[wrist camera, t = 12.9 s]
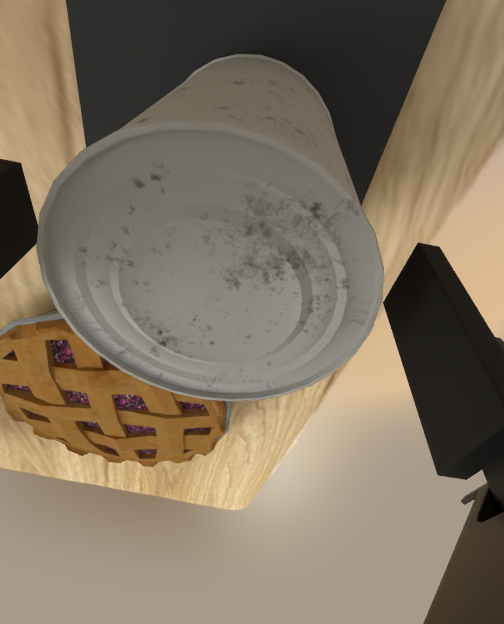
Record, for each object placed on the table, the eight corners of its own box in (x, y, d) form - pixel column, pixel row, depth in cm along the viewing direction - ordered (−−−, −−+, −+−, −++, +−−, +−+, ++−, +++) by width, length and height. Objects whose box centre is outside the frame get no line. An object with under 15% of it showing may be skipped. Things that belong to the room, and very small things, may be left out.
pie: (67, 429, 42) (46, 470, 39) (-45, 287, 28) (-96, 330, 24) (244, 436, 40) (239, 480, 36) (221, 286, 26) (210, 334, 22)
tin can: (330, 235, 22) (361, 403, 12) (182, 240, 23) (111, 399, 14) (343, 42, 15) (424, 98, 6) (138, 63, 16) (-49, 137, 7)
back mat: (47, -185, 12) (38, -193, 12) (471, -74, 13) (477, -77, 13) (106, 269, 26) (103, 274, 25) (316, 308, 27) (316, 313, 26)
